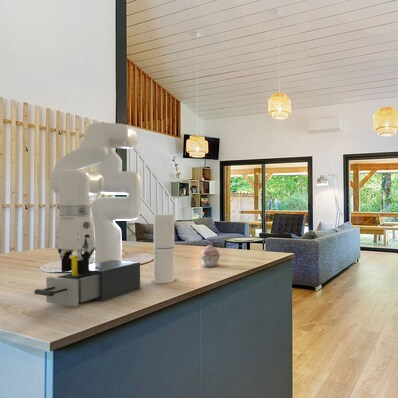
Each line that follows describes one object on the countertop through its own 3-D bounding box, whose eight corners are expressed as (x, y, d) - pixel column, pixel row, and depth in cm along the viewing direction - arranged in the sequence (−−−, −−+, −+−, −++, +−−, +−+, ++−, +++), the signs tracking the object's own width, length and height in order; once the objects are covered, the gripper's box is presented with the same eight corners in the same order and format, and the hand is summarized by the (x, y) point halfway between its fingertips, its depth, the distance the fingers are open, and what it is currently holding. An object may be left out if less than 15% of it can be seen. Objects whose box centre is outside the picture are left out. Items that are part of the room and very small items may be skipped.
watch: (68, 273, 98) (68, 254, 98) (79, 272, 100) (79, 253, 100) (70, 277, 93) (70, 257, 93) (82, 276, 95) (81, 256, 95)
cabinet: (102, 301, 98) (101, 271, 98) (72, 297, 102) (72, 268, 102) (140, 288, 112) (140, 262, 111) (112, 285, 116) (112, 259, 116)
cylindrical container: (167, 283, 117) (166, 215, 117) (149, 282, 119) (149, 214, 118) (178, 278, 124) (178, 214, 124) (161, 278, 126) (161, 213, 125)
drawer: (56, 312, 86) (56, 285, 86) (27, 307, 89) (27, 281, 89) (116, 293, 103) (115, 270, 103) (90, 289, 107) (89, 267, 107)
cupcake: (217, 268, 143) (217, 245, 143) (196, 268, 143) (196, 245, 143) (222, 263, 152) (222, 242, 152) (203, 263, 152) (203, 242, 152)
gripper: (107, 211, 97) (108, 271, 97) (66, 210, 103) (67, 267, 103) (83, 213, 90) (84, 277, 90) (41, 211, 95) (42, 272, 96)
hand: (75, 271), depth 97 cm, fingers closed on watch, 5 cm apart
